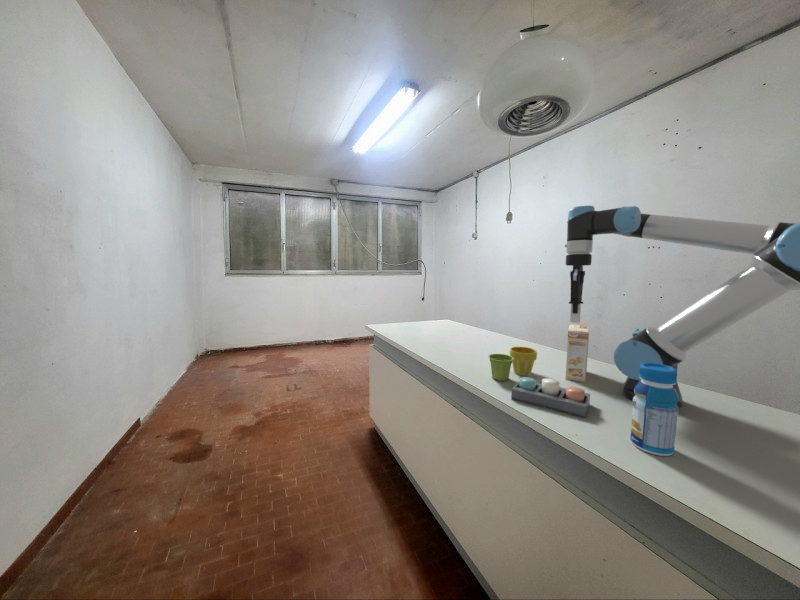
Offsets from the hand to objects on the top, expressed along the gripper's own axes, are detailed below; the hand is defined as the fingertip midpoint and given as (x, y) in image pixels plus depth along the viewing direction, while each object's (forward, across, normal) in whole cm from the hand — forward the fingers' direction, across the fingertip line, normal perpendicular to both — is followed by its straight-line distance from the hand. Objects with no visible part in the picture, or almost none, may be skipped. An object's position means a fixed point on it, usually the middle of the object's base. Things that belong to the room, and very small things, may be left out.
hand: (575, 322), depth 104 cm
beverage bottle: (+25, +27, +21) cm, 42 cm away
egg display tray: (+24, +15, -4) cm, 29 cm away
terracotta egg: (+23, +15, +3) cm, 28 cm away
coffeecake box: (+25, -18, -1) cm, 31 cm away
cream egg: (+22, +15, -4) cm, 27 cm away
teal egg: (+23, +15, -11) cm, 30 cm away
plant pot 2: (+25, -8, -19) cm, 32 cm away
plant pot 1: (+25, +4, -24) cm, 35 cm away
